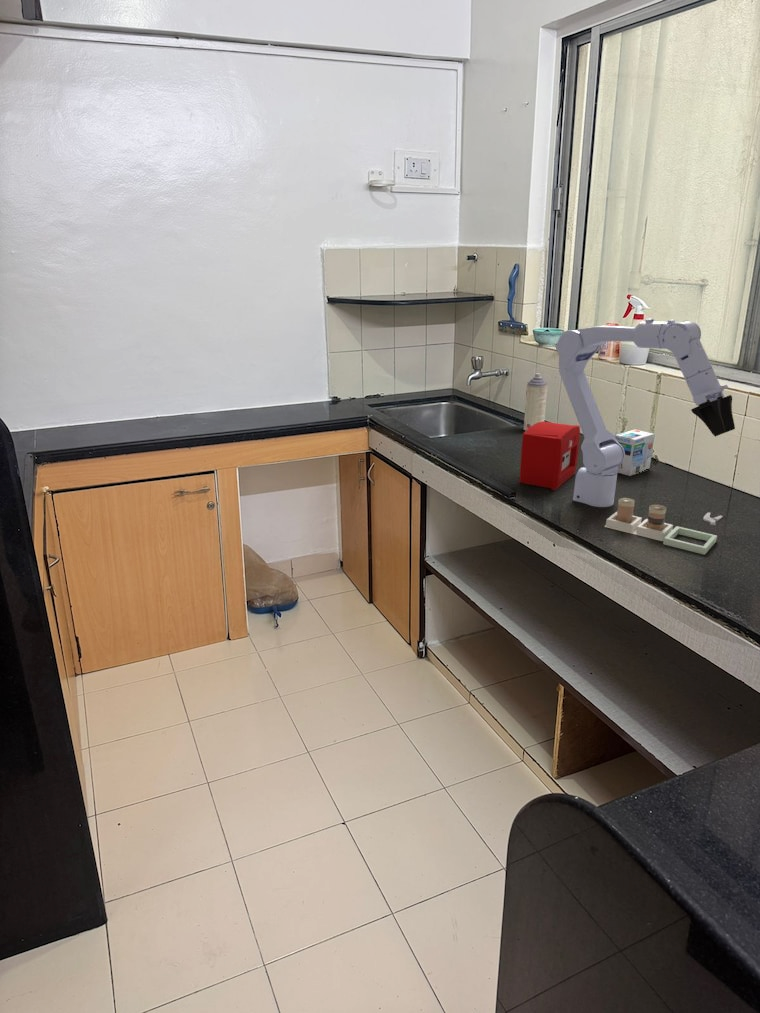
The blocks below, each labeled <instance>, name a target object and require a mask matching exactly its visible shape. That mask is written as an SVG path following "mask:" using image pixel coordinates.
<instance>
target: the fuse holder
mask: <svg viewBox="0 0 760 1013" xmlns="http://www.w3.org/2000/svg"><path fill="white" fill-rule="evenodd" d="M616 518H617V511H615V512H614V513H612V515H610V516H609V517H607V518H606V522H605V525H604V528H607V529H608V528H609V529H612V530H616V531H620V532H624V533H628V534H632V535H636V536H640V537H643V538H648V539H652V540H656V541H661V542H663V541H664V538H665V537H666V536H667V535H668V534H669V533H670V532H671V531H672V530H673V529H674V528H673V527H674V524H671V523H667V522H664V525H663V531H659V530H654V529H650V528H646V527H647V522H648V518H645V519H644V520H643V517H640V516H637V515H633V517H632V523H631V524H629V523H625V522H621V521H617V520H616ZM642 520H643V521H642Z"/></svg>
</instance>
